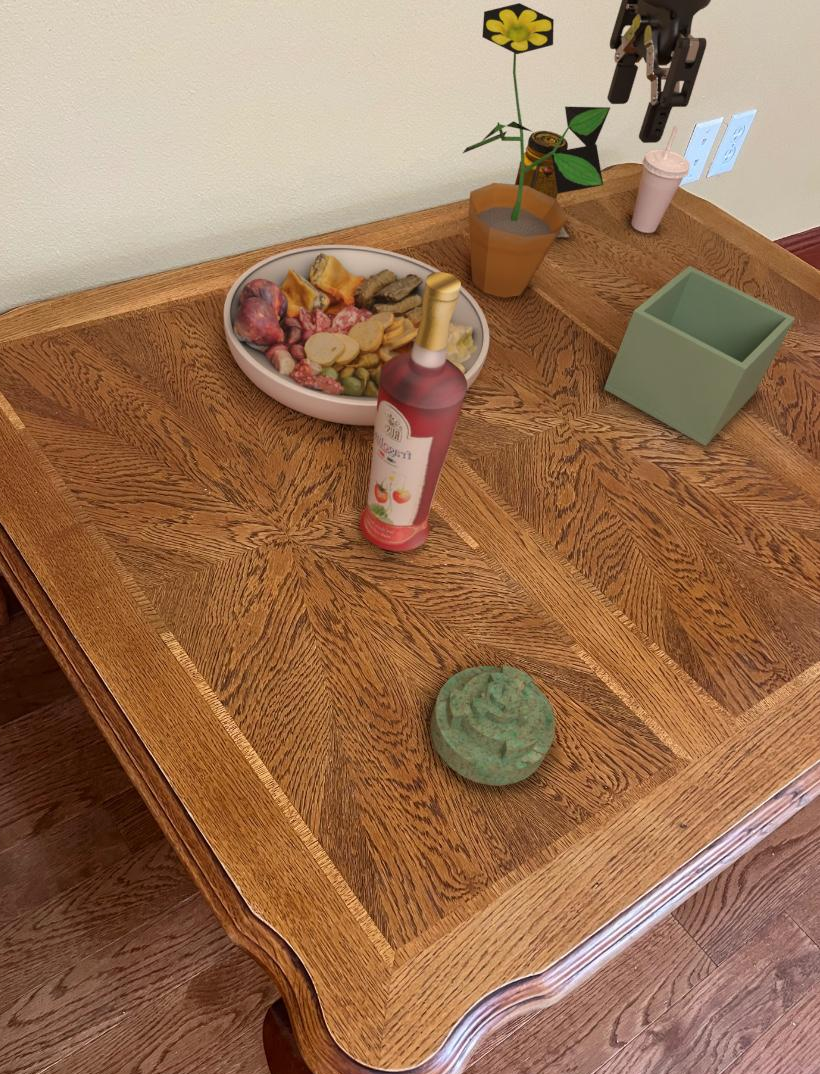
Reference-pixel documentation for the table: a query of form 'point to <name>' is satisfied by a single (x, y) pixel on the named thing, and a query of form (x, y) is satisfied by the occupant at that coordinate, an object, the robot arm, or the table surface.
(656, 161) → the smoothie
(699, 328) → the bin
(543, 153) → the condiment
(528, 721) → the decorative artifact
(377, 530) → the liquor
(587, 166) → the potted plant
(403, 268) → the bowl
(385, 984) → the table surface
